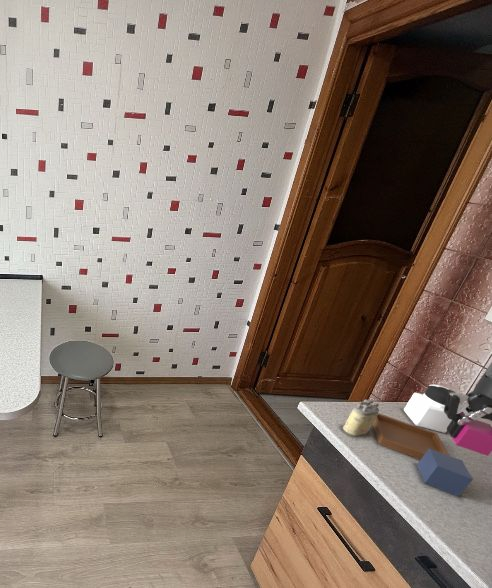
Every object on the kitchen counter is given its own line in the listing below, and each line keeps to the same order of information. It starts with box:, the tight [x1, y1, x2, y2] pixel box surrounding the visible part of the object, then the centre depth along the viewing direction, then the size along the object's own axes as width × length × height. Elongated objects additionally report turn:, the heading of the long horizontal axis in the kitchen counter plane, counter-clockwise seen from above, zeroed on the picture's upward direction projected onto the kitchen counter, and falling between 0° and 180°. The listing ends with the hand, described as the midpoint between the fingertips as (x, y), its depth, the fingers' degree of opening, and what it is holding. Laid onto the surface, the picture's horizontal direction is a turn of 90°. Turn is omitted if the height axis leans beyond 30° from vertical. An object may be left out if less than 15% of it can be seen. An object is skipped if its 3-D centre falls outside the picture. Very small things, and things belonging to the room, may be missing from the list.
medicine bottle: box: [403, 383, 453, 434], centre depth 96 cm, size 7×7×12 cm
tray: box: [372, 412, 449, 461], centre depth 90 cm, size 14×12×2 cm
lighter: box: [342, 399, 380, 437], centre depth 91 cm, size 7×4×10 cm, turn 105°
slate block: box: [416, 448, 474, 497], centre depth 79 cm, size 6×6×6 cm
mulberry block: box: [451, 419, 492, 457], centre depth 74 cm, size 5×5×5 cm
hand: (468, 440), depth 74 cm, fingers closed on mulberry block, 5 cm apart
